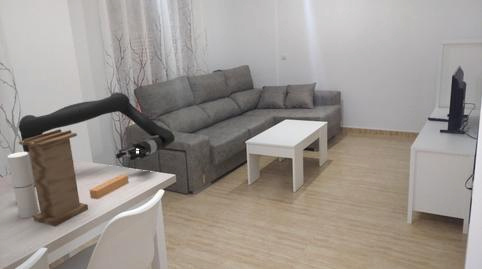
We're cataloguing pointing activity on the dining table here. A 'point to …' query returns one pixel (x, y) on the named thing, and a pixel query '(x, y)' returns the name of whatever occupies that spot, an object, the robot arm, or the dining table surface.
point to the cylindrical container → (23, 184)
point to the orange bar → (108, 186)
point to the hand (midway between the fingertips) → (123, 157)
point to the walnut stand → (54, 177)
